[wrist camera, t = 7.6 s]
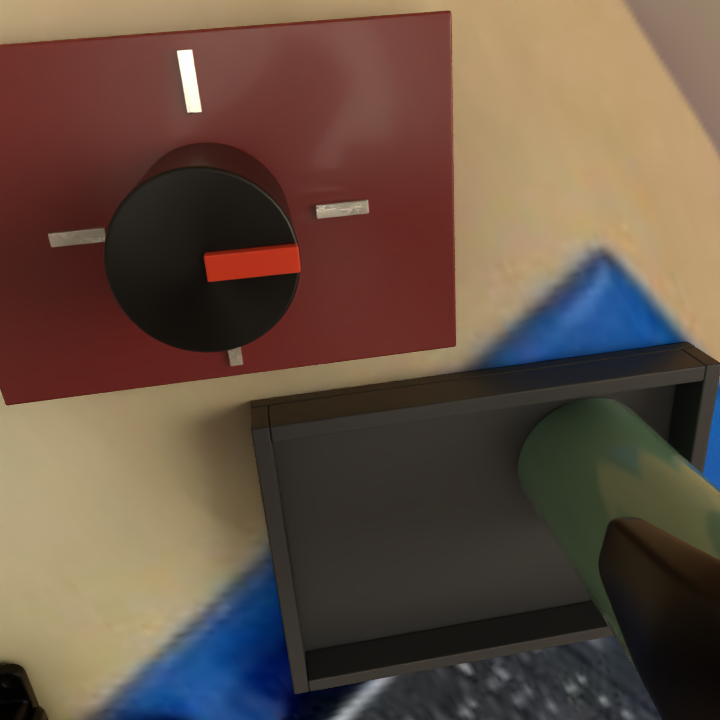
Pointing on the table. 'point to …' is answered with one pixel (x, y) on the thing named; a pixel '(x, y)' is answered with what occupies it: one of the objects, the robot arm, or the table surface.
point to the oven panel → (262, 141)
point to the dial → (204, 250)
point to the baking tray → (441, 510)
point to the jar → (611, 487)
